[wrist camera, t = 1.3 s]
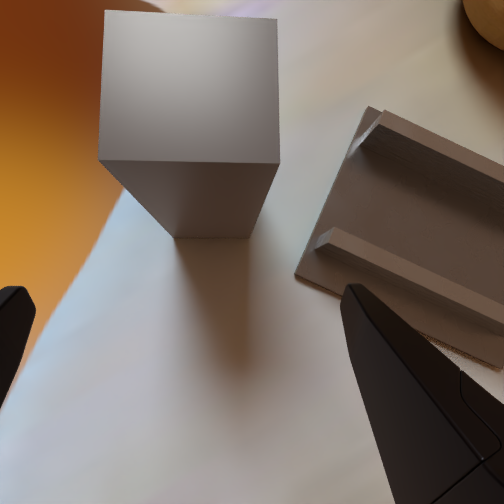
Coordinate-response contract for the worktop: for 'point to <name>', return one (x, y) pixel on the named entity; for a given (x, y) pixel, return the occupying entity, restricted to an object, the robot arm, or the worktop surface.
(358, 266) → the bracket
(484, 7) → the pot
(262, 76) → the gray rectangular block
